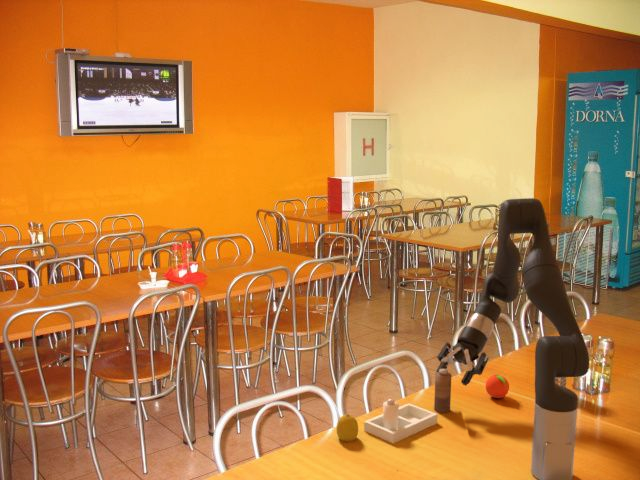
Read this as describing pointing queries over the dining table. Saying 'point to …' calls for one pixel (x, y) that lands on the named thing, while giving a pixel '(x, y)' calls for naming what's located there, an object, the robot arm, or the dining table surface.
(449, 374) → the pepper mill
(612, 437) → the dining table surface
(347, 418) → the lemon
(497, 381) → the clementine
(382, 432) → the caddy
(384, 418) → the salt shaker
